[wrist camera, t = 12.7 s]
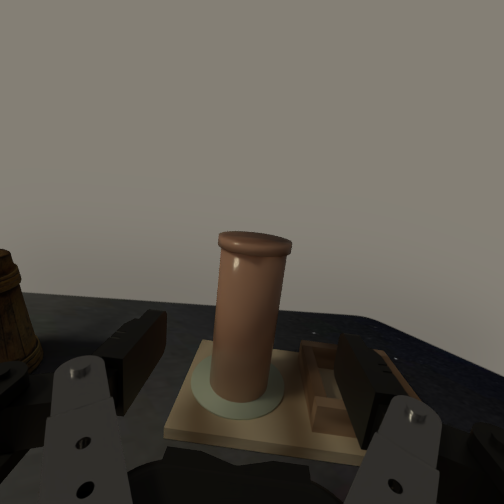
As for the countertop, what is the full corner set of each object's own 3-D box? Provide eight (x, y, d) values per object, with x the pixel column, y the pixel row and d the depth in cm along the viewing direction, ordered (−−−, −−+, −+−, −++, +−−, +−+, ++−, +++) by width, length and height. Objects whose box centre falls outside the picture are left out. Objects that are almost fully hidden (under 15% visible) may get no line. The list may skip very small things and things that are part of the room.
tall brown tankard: (269, 353, 30) (287, 233, 26) (271, 410, 22) (296, 250, 19) (216, 346, 30) (227, 226, 27) (199, 400, 22) (211, 239, 19)
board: (383, 371, 31) (390, 345, 30) (455, 480, 19) (470, 442, 18) (201, 347, 31) (203, 320, 30) (163, 438, 20) (165, 399, 19)
